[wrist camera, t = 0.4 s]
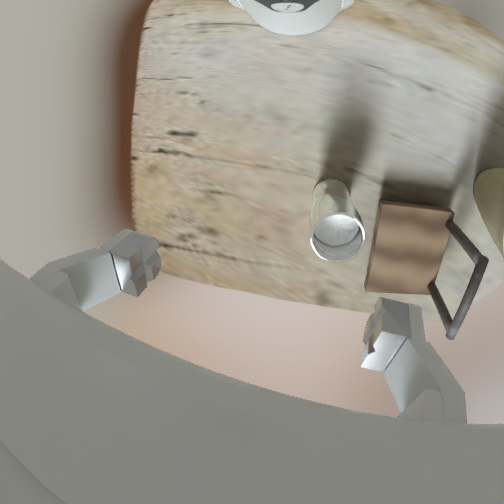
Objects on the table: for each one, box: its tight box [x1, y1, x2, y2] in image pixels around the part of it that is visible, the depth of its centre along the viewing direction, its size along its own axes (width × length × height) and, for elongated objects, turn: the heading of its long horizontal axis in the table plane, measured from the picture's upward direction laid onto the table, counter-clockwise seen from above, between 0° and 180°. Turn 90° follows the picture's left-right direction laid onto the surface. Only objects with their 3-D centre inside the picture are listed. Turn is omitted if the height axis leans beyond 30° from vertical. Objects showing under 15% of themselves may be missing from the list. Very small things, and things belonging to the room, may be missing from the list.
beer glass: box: [309, 179, 366, 263], centre depth 39 cm, size 7×7×15 cm
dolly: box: [364, 200, 489, 340], centre depth 39 cm, size 16×13×17 cm
